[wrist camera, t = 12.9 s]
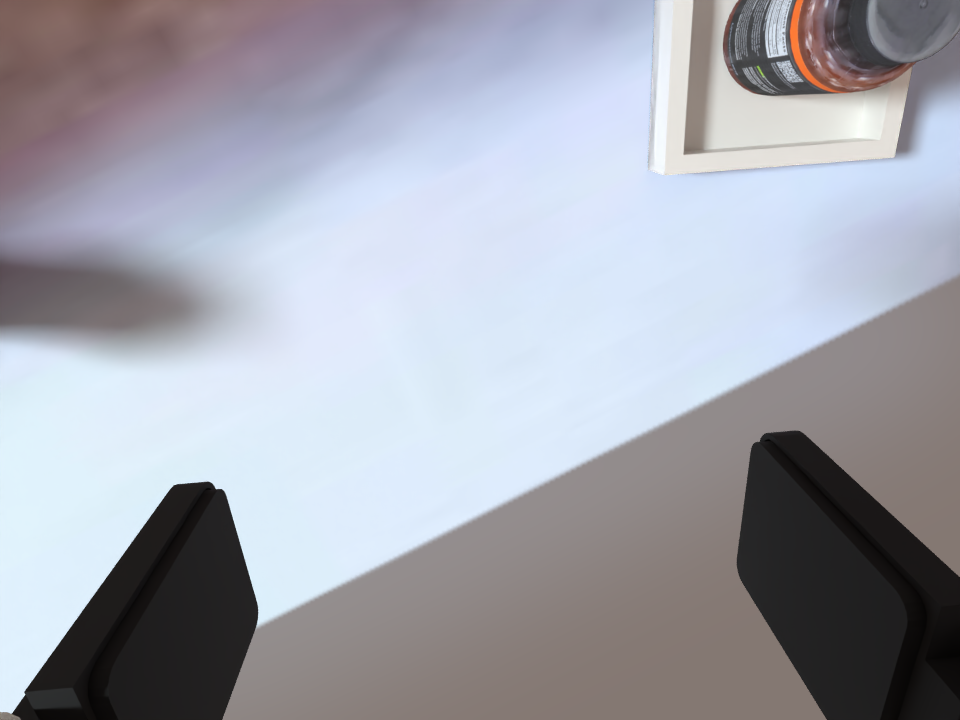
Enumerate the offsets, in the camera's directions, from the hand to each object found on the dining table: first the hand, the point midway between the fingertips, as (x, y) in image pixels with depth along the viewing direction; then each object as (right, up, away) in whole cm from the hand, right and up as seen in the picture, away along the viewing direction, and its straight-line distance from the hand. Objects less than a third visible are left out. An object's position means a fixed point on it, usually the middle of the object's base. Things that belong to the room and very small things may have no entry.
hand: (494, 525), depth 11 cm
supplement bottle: (+16, +21, +22) cm, 34 cm away
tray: (+16, +21, +23) cm, 35 cm away
